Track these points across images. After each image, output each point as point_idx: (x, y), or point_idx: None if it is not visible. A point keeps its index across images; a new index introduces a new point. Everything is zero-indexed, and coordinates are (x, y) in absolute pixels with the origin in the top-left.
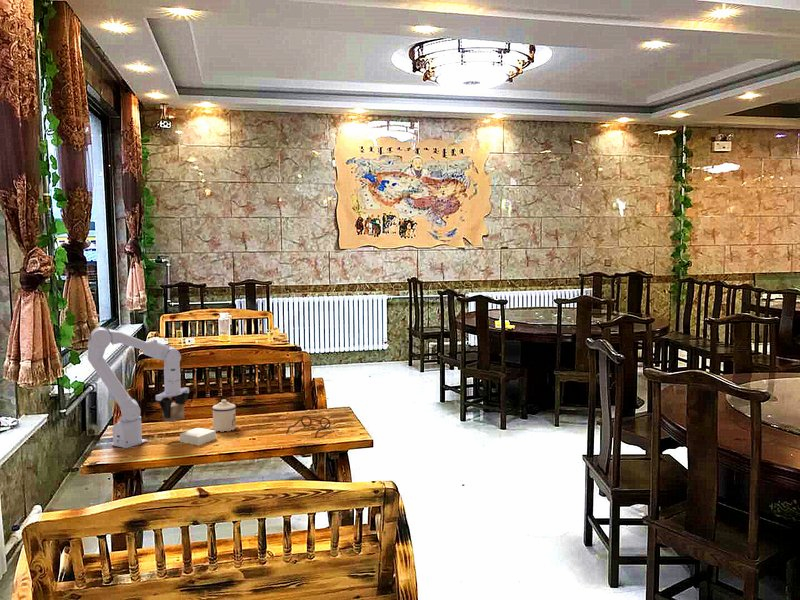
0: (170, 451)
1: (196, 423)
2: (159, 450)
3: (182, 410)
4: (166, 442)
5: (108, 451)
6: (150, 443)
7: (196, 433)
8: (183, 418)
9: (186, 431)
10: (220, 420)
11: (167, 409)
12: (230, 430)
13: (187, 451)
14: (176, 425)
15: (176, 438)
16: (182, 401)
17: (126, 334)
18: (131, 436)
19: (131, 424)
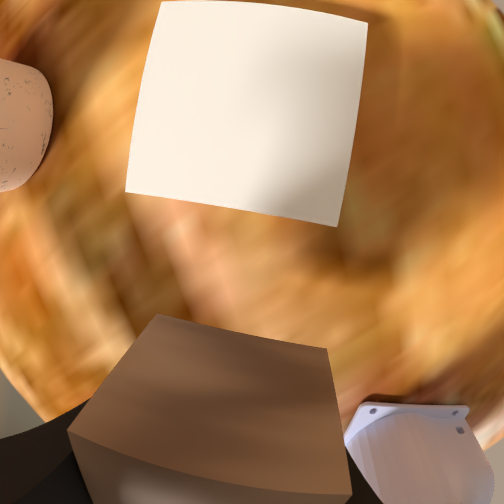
0: (497, 167)
1: (11, 327)
2: (493, 241)
3: (144, 382)
4: (356, 299)
5: (488, 428)
6: (388, 370)
7: (284, 86)
8: (170, 319)
9: (256, 210)
10: (4, 92)
11: (379, 502)
12: (32, 67)
13: (469, 67)
14: (72, 399)
15: (257, 289)
16: (50, 481)
17: None
18: (448, 445)
19: (466, 493)
